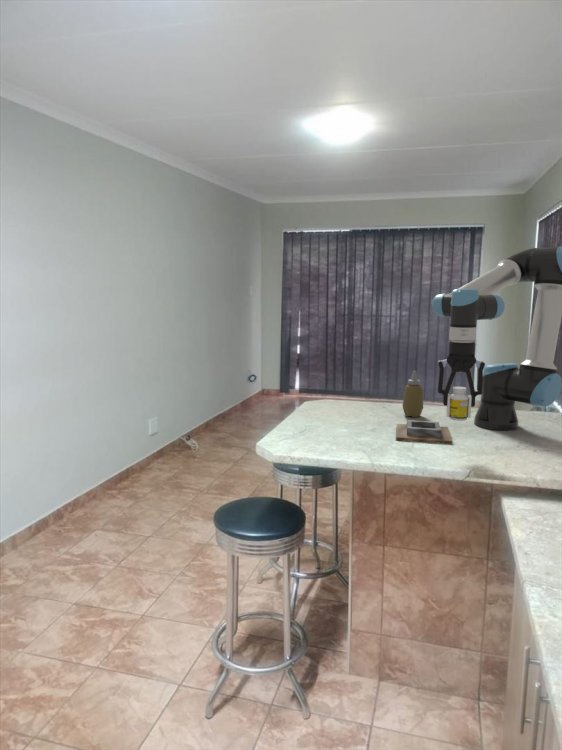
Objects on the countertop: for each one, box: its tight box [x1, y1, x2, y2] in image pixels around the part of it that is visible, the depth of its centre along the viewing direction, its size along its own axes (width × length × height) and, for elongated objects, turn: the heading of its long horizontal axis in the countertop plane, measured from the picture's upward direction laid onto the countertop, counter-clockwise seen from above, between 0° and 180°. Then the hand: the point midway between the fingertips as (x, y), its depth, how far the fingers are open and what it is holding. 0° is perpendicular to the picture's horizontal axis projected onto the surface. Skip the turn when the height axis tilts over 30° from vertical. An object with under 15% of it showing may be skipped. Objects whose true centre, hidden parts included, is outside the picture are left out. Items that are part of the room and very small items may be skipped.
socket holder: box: [395, 419, 453, 445], centre depth 185 cm, size 18×18×4 cm
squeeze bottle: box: [402, 370, 424, 418], centre depth 210 cm, size 8×8×18 cm
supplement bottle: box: [448, 386, 469, 422], centre depth 163 cm, size 5×5×10 cm
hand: (458, 416), depth 164 cm, fingers closed on supplement bottle, 5 cm apart
